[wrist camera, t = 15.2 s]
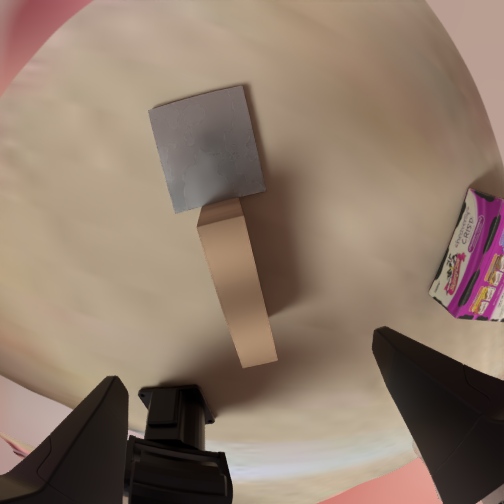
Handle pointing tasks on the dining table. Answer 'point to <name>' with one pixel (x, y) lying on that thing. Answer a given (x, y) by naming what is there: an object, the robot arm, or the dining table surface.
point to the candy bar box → (474, 262)
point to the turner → (219, 203)
